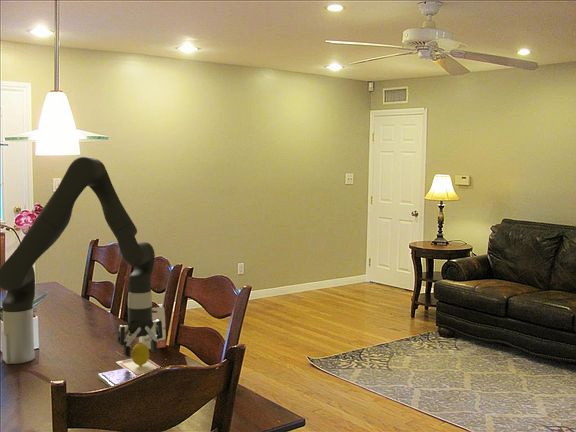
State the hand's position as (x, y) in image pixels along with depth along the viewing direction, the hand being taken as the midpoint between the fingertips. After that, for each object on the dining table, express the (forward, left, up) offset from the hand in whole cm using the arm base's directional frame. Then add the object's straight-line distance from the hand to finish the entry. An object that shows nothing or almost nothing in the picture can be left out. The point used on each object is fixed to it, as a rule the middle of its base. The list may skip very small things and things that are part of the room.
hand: (140, 354), depth 203 cm
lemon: (0, 0, -4) cm, 4 cm away
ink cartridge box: (+12, +18, -5) cm, 22 cm away
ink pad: (-10, -8, -4) cm, 14 cm away
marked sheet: (0, 0, -4) cm, 4 cm away
